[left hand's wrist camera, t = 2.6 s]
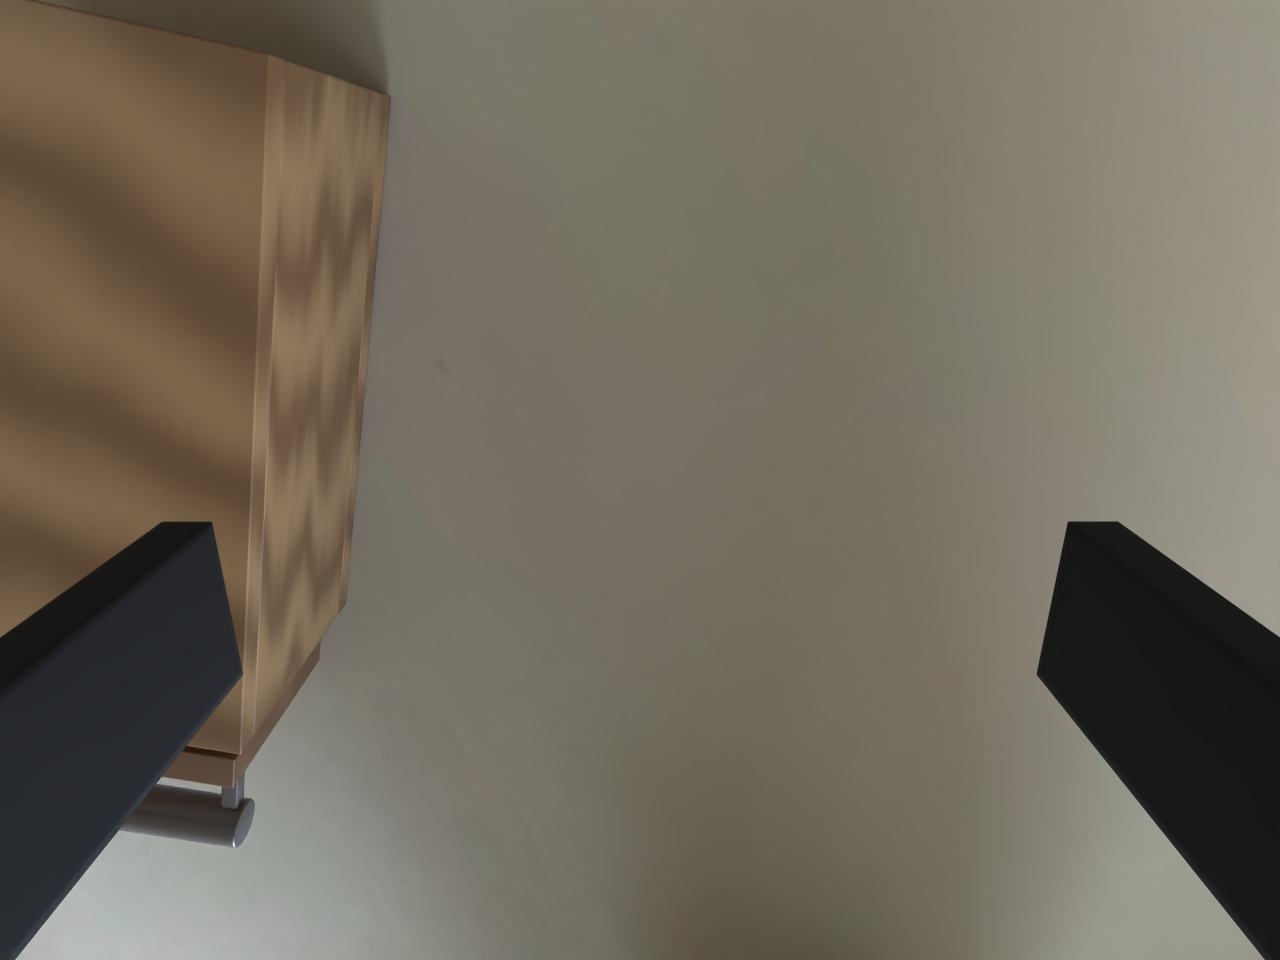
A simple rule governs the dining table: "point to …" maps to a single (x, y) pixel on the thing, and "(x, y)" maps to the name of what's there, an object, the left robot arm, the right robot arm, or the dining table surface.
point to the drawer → (207, 811)
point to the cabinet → (184, 321)
